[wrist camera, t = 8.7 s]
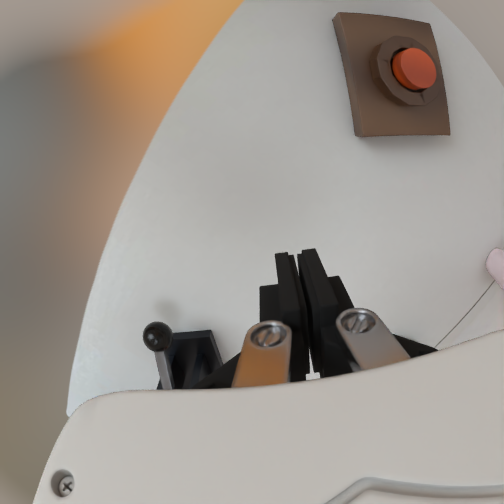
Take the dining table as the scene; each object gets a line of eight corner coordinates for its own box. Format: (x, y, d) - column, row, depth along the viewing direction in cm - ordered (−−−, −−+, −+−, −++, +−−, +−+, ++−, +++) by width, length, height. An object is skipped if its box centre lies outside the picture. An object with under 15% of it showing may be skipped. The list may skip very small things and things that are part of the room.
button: (387, 49, 17) (396, 45, 15) (421, 53, 16) (431, 50, 15) (395, 88, 18) (405, 86, 17) (428, 91, 18) (439, 89, 16)
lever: (148, 320, 29) (134, 325, 26) (174, 318, 29) (163, 323, 25) (172, 424, 28) (162, 437, 25) (198, 425, 28) (190, 439, 24)
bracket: (151, 334, 34) (121, 406, 23) (211, 329, 33) (195, 410, 22) (177, 383, 38) (160, 450, 27) (229, 381, 37) (223, 453, 26)
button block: (331, 19, 19) (343, 4, 15) (419, 28, 18) (439, 19, 14) (354, 136, 23) (370, 138, 20) (438, 133, 23) (461, 137, 19)
